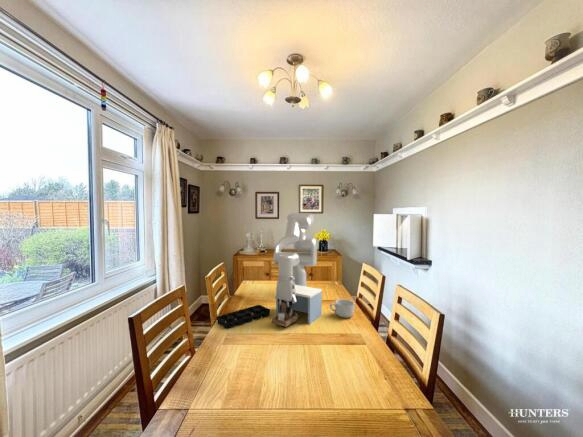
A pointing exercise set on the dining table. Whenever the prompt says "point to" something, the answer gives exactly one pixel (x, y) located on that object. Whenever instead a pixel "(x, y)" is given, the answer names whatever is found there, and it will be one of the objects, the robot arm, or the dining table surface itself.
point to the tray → (284, 316)
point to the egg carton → (243, 316)
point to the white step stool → (306, 302)
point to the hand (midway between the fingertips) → (285, 312)
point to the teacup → (343, 308)
